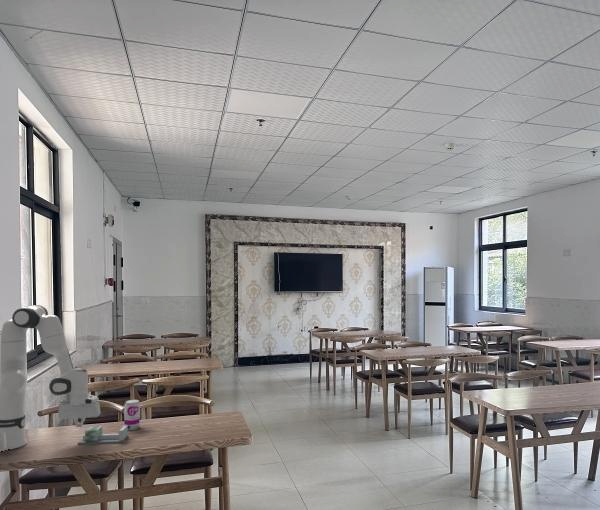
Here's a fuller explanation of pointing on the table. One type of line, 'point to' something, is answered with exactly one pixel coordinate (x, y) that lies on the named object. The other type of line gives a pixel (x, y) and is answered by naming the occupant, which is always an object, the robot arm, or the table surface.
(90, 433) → the keeper
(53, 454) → the table surface
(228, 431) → the table surface
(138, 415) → the supplement can
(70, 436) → the table surface
